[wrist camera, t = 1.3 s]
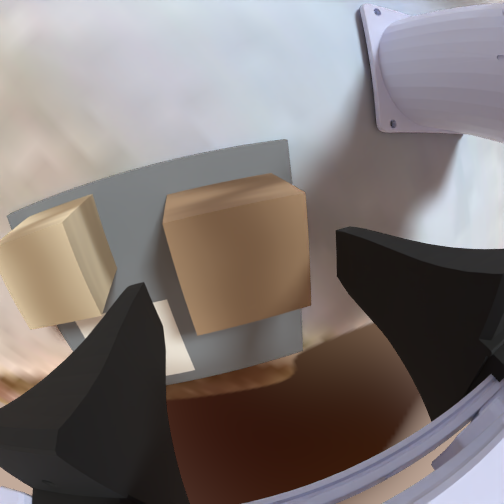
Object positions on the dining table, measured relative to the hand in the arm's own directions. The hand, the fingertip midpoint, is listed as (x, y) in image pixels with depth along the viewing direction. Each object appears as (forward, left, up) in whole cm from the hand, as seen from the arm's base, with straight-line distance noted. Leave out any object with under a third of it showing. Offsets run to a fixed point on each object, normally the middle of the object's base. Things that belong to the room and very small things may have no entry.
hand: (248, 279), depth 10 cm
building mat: (+4, +3, -5) cm, 7 cm away
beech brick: (+8, -2, -5) cm, 9 cm away
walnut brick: (0, 0, -5) cm, 5 cm away
